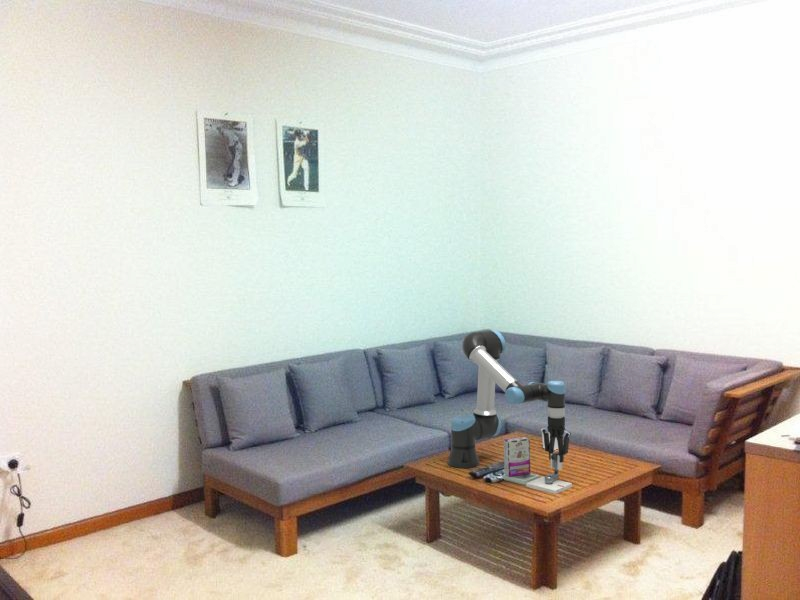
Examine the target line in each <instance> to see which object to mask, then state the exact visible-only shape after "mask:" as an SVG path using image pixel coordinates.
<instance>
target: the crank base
mask: <svg viewBox="0 0 800 600" xmlns="http://www.w3.org/2000/svg"><path fill="white" fill-rule="evenodd" d="M525 487H526V488H529V489H535V490H539V491H541V492H546V493H549V494H553V495H556V494H559V493H561V492H564V491H566V490H569V489H570V488H572V487H573V483H571V482H567V481H563V480H560V479H557V480H555V481H553V483H552V484H547V483H545V476H540V478H538V479H535V480H533V481H530V482H528V483H526V486H525Z"/></svg>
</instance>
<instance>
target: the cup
mask: <svg viewBox="0 0 800 600" xmlns="http://www.w3.org/2000/svg"><path fill="white" fill-rule="evenodd" d="M545 428H546V427H545ZM545 428H544V427H543V428H541V429H540V430H541V439H542V449H543V448H545V445H544V434H543V432H542V430H543V429H545ZM548 433H549V432H548ZM549 443H550V433H549ZM556 449H558V441H557V438H555V444H554V450H556ZM556 451H557V450H556Z"/></svg>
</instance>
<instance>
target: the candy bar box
mask: <svg viewBox="0 0 800 600" xmlns="http://www.w3.org/2000/svg"><path fill="white" fill-rule="evenodd" d="M530 441H531V439H530V438H528V437H526V436H521V437H513V438H512V437H511V438H505V439H503V465H504V466H503V467H504V469H503V470H504V474H505V475H506V476H508V477H514V476H521V475H527V474H530V473H531V451H530V450H531V445H530V443H531V442H530Z"/></svg>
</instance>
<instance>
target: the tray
mask: <svg viewBox="0 0 800 600" xmlns="http://www.w3.org/2000/svg"><path fill="white" fill-rule="evenodd" d="M498 475H500V476H502V477H503V479H504V480H503V481H505V482H510V483H513V484H514V483H515V484H517V485H521V486H525V487H526V483H528V482H530V481H533V480H535V479H538V478H540V477H541V476H540V475H539V474H537V473H536V474H534V473H531V472H530V474H527V475H521V476H514V477H508V476H506V475H502V474H498Z"/></svg>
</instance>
